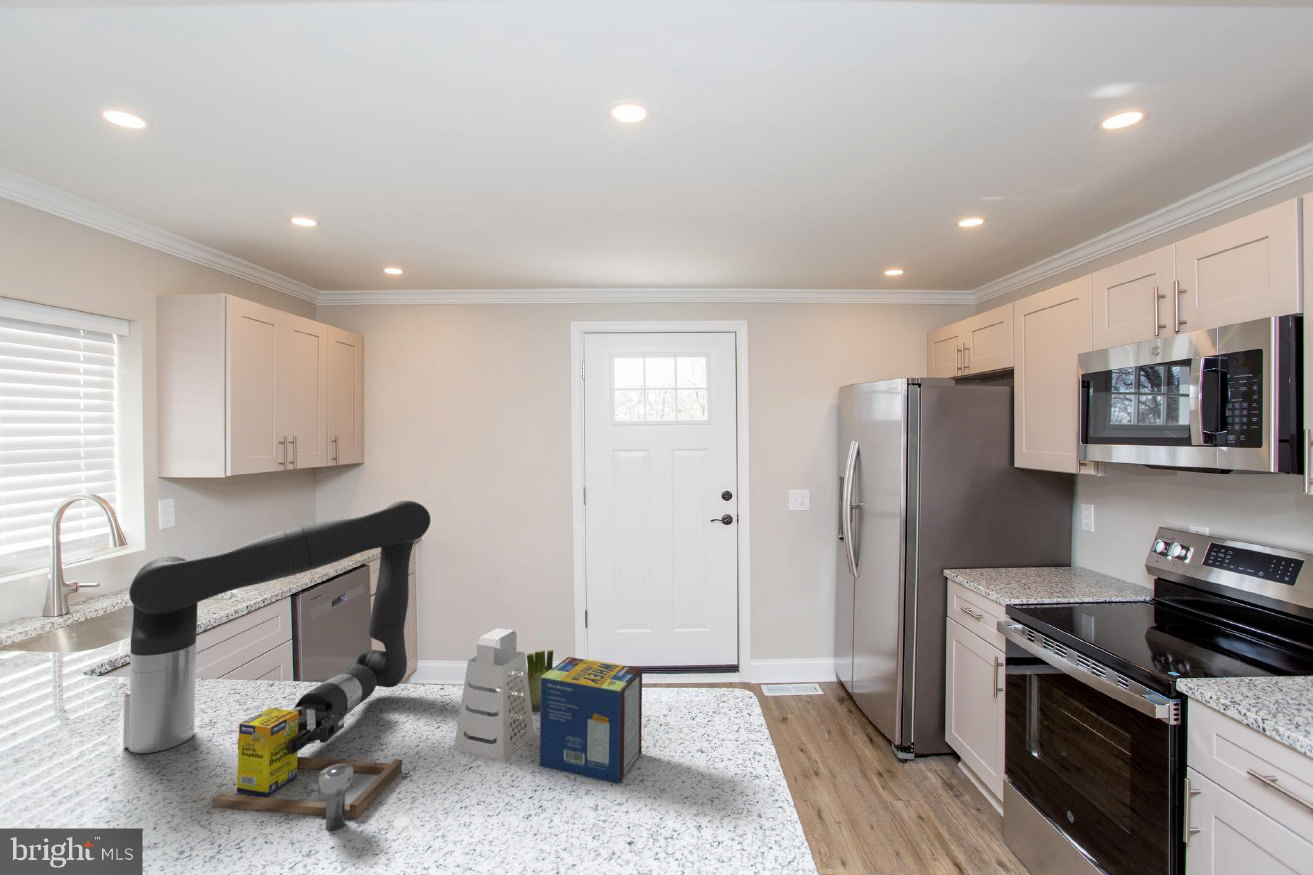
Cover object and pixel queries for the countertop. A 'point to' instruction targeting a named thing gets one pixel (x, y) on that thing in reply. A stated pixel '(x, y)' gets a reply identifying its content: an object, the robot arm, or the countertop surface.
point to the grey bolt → (335, 793)
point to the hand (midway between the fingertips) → (264, 746)
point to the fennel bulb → (537, 674)
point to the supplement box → (266, 752)
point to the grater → (495, 698)
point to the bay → (355, 799)
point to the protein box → (591, 718)
